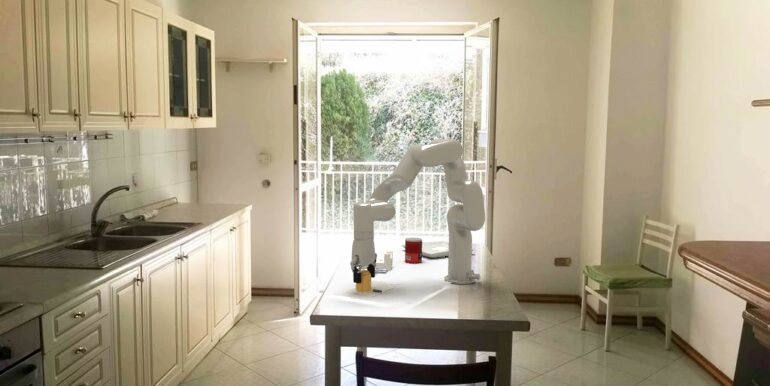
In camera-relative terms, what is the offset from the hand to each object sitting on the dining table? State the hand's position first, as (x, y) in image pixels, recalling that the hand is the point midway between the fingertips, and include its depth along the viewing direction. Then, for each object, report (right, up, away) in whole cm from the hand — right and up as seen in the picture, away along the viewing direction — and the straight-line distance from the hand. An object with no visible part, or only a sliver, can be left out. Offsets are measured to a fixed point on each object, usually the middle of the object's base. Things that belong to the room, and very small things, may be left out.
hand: (364, 280), depth 232 cm
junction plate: (+3, -5, +3) cm, 7 cm away
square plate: (+34, +2, +79) cm, 86 cm away
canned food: (+21, 0, +57) cm, 61 cm away
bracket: (+4, -1, +43) cm, 44 cm away
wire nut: (0, -4, 0) cm, 4 cm away
